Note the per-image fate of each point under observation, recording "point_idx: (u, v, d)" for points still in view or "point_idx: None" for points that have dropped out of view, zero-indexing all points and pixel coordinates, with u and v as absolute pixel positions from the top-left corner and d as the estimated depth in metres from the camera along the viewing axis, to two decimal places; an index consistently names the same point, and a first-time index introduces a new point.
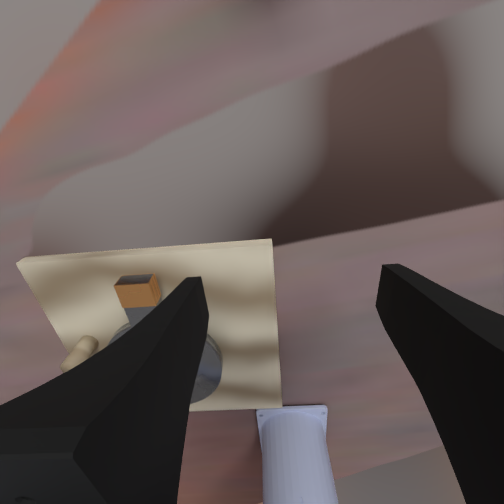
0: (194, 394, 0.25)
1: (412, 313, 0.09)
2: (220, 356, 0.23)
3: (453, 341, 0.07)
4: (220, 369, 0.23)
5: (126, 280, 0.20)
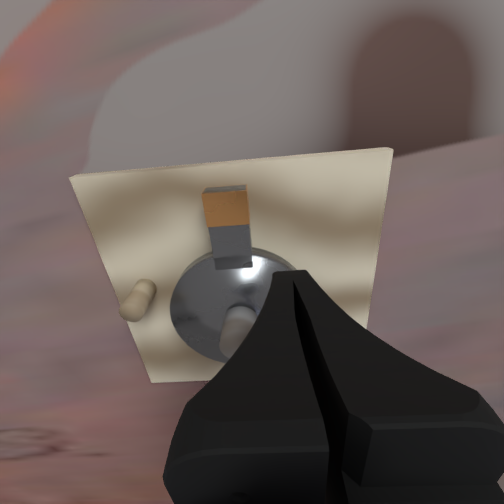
0: None
1: (301, 319, 0.09)
2: None
3: (313, 348, 0.07)
4: None
5: (214, 189, 0.16)
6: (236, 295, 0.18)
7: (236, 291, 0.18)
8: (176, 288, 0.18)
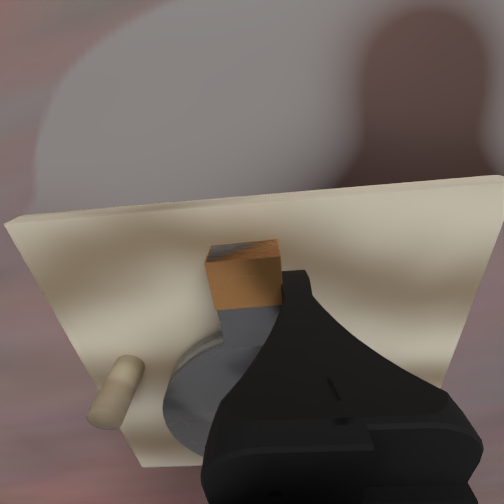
0: None
1: None
2: None
3: None
4: None
5: (226, 252, 0.09)
6: None
7: None
8: (170, 387, 0.12)
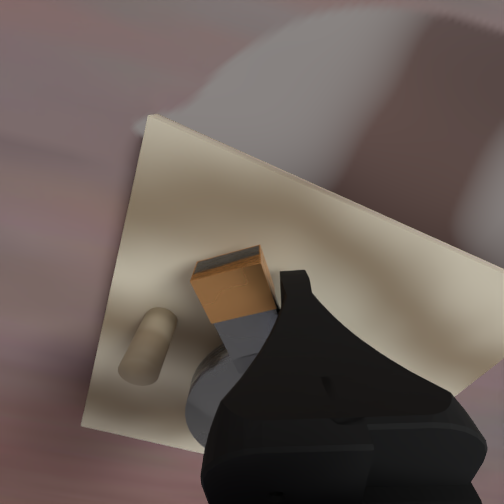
0: None
1: None
2: None
3: None
4: None
5: (211, 266, 0.10)
6: None
7: None
8: (189, 402, 0.13)
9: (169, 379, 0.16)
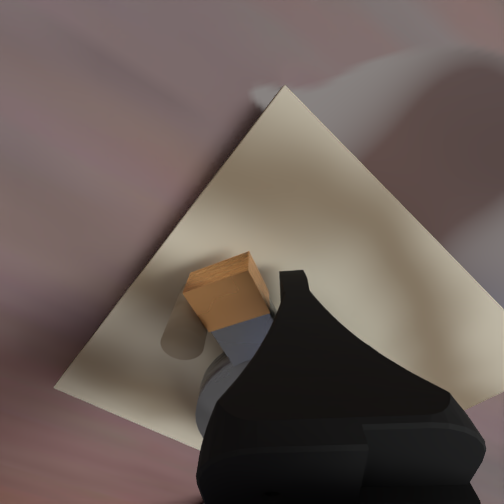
0: None
1: None
2: None
3: None
4: None
5: (202, 276, 0.10)
6: None
7: None
8: (198, 409, 0.13)
9: None
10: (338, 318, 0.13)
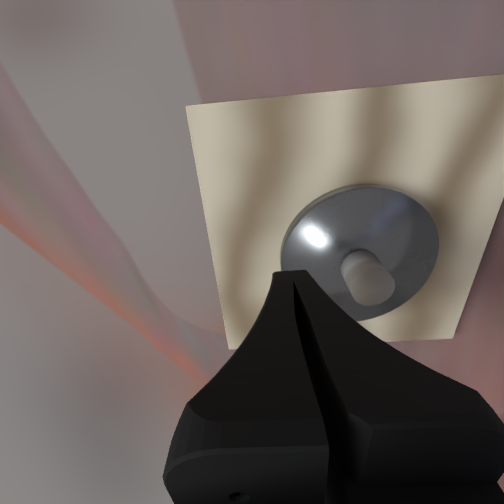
0: (359, 206, 0.16)
1: (301, 319, 0.09)
2: (284, 240, 0.18)
3: (313, 348, 0.07)
4: (291, 234, 0.17)
5: None
6: (344, 287, 0.19)
7: (341, 290, 0.19)
8: (385, 312, 0.20)
9: None
10: None
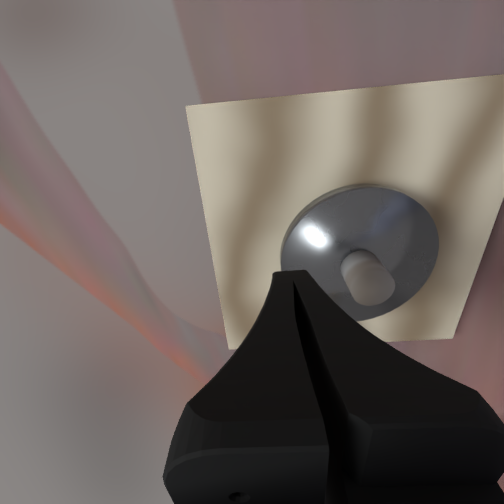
0: (359, 206, 0.16)
1: (301, 319, 0.09)
2: (284, 240, 0.18)
3: (313, 348, 0.07)
4: (291, 234, 0.17)
5: None
6: (344, 287, 0.19)
7: (341, 290, 0.19)
8: (385, 312, 0.20)
9: None
10: None
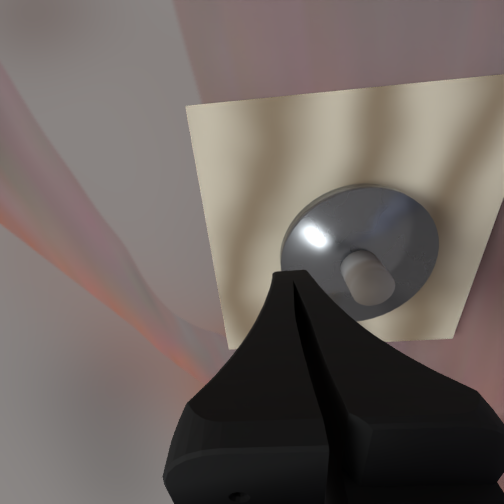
0: (359, 206, 0.16)
1: (301, 319, 0.09)
2: (284, 240, 0.18)
3: (313, 348, 0.07)
4: (291, 234, 0.17)
5: None
6: (344, 287, 0.19)
7: (341, 290, 0.19)
8: (385, 312, 0.20)
9: None
10: None
